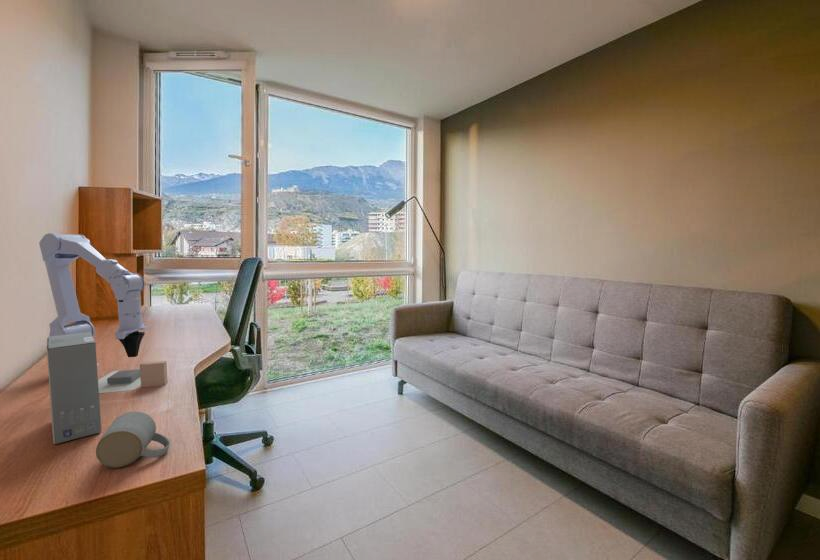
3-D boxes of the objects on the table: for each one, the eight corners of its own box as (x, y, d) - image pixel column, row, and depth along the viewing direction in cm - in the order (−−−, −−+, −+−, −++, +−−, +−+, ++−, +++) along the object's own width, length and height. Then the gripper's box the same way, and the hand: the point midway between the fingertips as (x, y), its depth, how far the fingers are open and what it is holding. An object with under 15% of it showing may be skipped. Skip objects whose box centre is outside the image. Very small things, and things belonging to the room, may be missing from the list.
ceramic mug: (93, 474, 65) (91, 432, 64) (111, 451, 72) (109, 413, 72) (164, 463, 69) (162, 423, 68) (174, 441, 76) (173, 405, 76)
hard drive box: (102, 433, 79) (95, 342, 78) (53, 446, 74) (44, 349, 72) (96, 410, 91) (90, 330, 89) (53, 420, 85) (45, 335, 84)
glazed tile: (119, 370, 113) (107, 378, 106) (142, 369, 114) (131, 376, 107) (120, 377, 113) (107, 385, 106) (142, 375, 114) (131, 383, 108)
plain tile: (144, 386, 106) (142, 362, 106) (167, 384, 108) (166, 360, 107) (141, 388, 105) (139, 364, 104) (165, 386, 106) (163, 362, 105)
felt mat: (112, 372, 118) (112, 371, 118) (162, 368, 122) (162, 367, 122) (73, 396, 99) (73, 395, 99) (133, 391, 102) (133, 390, 102)
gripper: (133, 317, 108) (136, 362, 109) (154, 309, 122) (157, 349, 123) (105, 318, 106) (108, 364, 107) (130, 309, 120) (132, 350, 121)
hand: (132, 356), depth 115 cm, fingers closed
